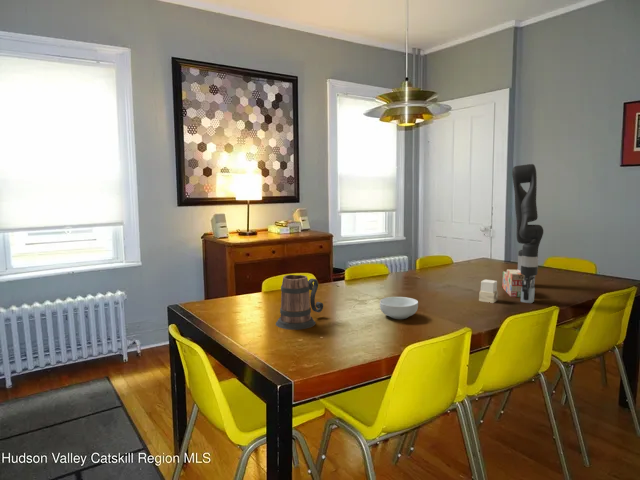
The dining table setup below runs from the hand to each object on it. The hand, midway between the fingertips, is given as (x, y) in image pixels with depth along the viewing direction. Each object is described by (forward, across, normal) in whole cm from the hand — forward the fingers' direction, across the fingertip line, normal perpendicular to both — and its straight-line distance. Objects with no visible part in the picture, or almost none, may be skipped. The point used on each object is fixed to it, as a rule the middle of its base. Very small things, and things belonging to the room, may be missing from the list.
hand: (527, 298), depth 225 cm
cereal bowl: (+2, +62, -38) cm, 73 cm away
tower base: (+2, +10, -16) cm, 19 cm away
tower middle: (-3, +10, -16) cm, 19 cm away
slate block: (+1, 0, 0) cm, 1 cm away
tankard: (+2, +94, -67) cm, 115 cm away
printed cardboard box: (+2, -16, -12) cm, 19 cm away
